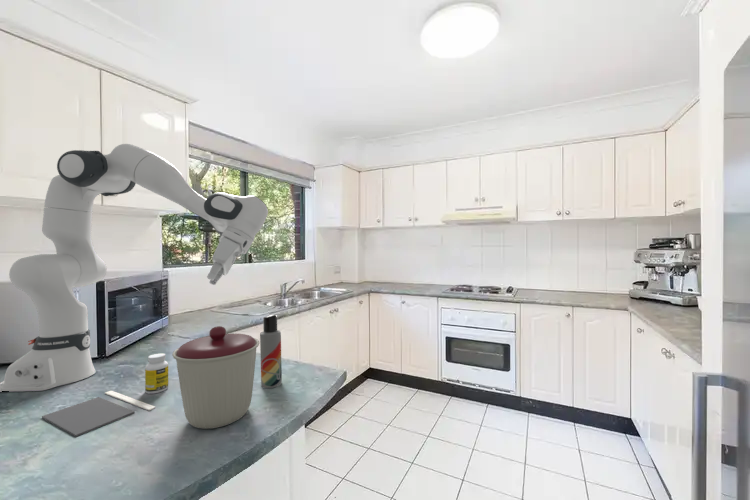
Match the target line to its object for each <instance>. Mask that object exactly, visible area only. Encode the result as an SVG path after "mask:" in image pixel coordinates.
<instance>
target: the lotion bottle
mask: <svg viewBox="0 0 750 500" xmlns="http://www.w3.org/2000/svg"><path fill="white" fill-rule="evenodd" d="M262 322H263V324H262V327H263V331H261V332H260V334H259V350H260V353H259V355H260V384H261V387H262V388H263V389H273V388H277V387H279V386H281V384H283V383H282V382H283V381H282V379H283V377H282V376H283V375H282V373H283V372H282V371H283V370H282V332H281V330H279V329H278V316H277V315H276V314H271V315H267V316H264V317H263V318H262Z"/></svg>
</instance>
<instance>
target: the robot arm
mask: <svg viewBox="0 0 750 500" xmlns="http://www.w3.org/2000/svg"><path fill="white" fill-rule="evenodd" d="M56 169H57V173H58V174H59V175H55V176H54V177H52V178H51V179H50V180H51V181H50V182H49V185H48V188H47V189H46V190H47V191H46V195H45V200H44V206H43V207H44V208H43V217H42V226H41V227H42V228H41V231H42V234H43V236H45V237H46V238H48V239H49V240H50V241H51V242H52V243H53V244H54V247H55V250H56V251H55V252H56V253H52V254H51V253H46V254H45V253H43V254H42V253H41V254H40V253H39V254H34V255H29V256H26V257H22V258H19V259H17V260H16V261H15V262H13V263H12V265H11V267H10V269H9V274H8V275H9V279H10V283H11V284H12V285H13V286H14V287H15V288H16V289H19V290H20V291H22V292H24V293H25V294H26V295H28V296H29V298H30V299H31V301H32V302H33V304H34V306H35V309H36V312H37V320H38V336H36V337H35V338H34V339H31V340H28V341H27V345H28V346H29V345H33V346H32V348H31V350H29V351H28V352H27V353H25V354H24V355H22V356H21V357H19V358H18V359H17V360H15V361H14V362H12V363H11V364H10V365H9V366H8V367H7V368H6V371H5V374H4V380H3V381H1V382H0V393H3V392H2V391H9V393H10V392H32V391H33V392H35V391H36V392H37V391H46V390H49V389H53V388H56V387H59V386H64V385H68V384H72V383H75V382H78V381H82V380H83V379H87V378H90V377H91V376H93V375H94V374H95V373H97V371H96V369H95V366H94V364H93V361H92V356H91V350H90V346H91V330H90V329H89V316H88V314H89V312H88V306H87V305H86V303H84V302H82V301H80V300H79V299H77V297H76V296H75V293H74V291H73V289H74V288H81V287H86V286H91V285H93V284H95V283H98V282H100V281H101V280H103V279H104V278H105V276H106V275H107V268H108V267H107V264H106V261H104V259H102V258H101V257H100V256H99V255H98V253H97V252H96V248H95V247H94V244H93V239H92V225H93V224H92V221H93V213H94V201H95V199H96V197H98V196H100V195H101V196H103V197H109V196H115V195H124V194H126V193H129V192H131V191H132V190H133V189H134V187H136V185H139V186H140V187H142V188H144V189H146V190H148V191H150V192H152V193H154V194H156V195H159V196H161V197H163V198H165V199H167V200H169V201H171V202H173V203H175V204H178V205H179V206H181V207H183V208H184V209H186V210H187V211H189V212H191V213H193V214H195V215H197V216H198V217H199V218H202V219H203V220H205V221H207V222H208V223H209V224H210V225H211V226H212V227H213V229H214V230H215V231H216V232H217V234H219V235H220V237H219V238H218V241H219V243H218V244H217V247H216V248H215V251H214V253H213V255H212V259H211V260H212V263H213V265H211V268H210V271H209V273H208V274H207V276H206V278H207V279H208V280H209V284H210V285H212V286H216V284H217V283H218V281H219V280H220V279H221V278H222V276H227V275H228V274H229V272H230V271H231V268H232V267H233V265H234V263H235V261H236V259H237V258H239V257H240V256H241V255H246V254H247V252H248V251H249V249H250V248H251V246H252V244H253V242H254V241H255V237H256V235H257V234H258V233H259V232H260V231H261V229H262V227H263V225H264V224H265V222H266V219H267V218H268V214H269V209H268V206H267V205H266V203H265V202H264V200H261V198H259V197H257V196H255V195H250V194H249V195H246V196H241V195H234V194H229V193H227V192H222V191H220V192H219V191H218V192H214V193H212V194H210V195H209V196H207V197H206V198H205V197H204V196H203V195H201V194H200V193H198V192H197V191H195V190H194V189H193V188H192V186H190V184H189V183H188V181H187V180H186V179H185V177H184V176H183V174H182V173H181V172H180V170H178V169H177V168H176V167H175V165H173V164H172V163H170V162H169V161H168V160H166V159H165V158H163V157H161V156H160V155H158V154H156V153H154V152H152V151H149V150H148V149H146V148H145V149H144V148H143V147H140V146H137V145H133V144H130V143H121V144H118V145H117V146H115V147H114V148H113V149H112V150H111V151H110V153H108V154H103V153H102V152H101V151H99V150H82V149H81V150H80V149H79V150H76V149H75V150H73V149H72V150H69V151H66V152H64V153H62V154H61V156H60V157H59V158H58V159H57V163H56ZM28 342H29V343H28Z"/></svg>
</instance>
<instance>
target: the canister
mask: <svg viewBox="0 0 750 500" xmlns="http://www.w3.org/2000/svg"><path fill="white" fill-rule="evenodd" d="M258 347H260V340H259V339H257V338H255V337H253V336H251V335H248V334H245V333H227V329H226V328H225V326H223V325H219V326H214V327H211V329H210V330H209V335H207V336H202V337H199V338H195V339H192V340H189V341H187V342H185V343H184V344H181V345H180V347H178V348H176V349H174V351H173V352H172V355H171V356H172V358H173V359H174V360H175V361H176V367H177V373H178V374H177V375H178V382H179V388H180V394H181V395H180V396H181V400H182V406H183V410H184V411H183V412H184V416H185V418H186V420H187V422H188V424H190V425H191V426H192V427H194V428H197V429H202V430H204V429H207V430H209V429H216V428H221V427H224V426H228V425H230V424H232V423H235V422H236V421H238V420H240V419H241V418H242V417H244V416H245V415H246V414H247V412H248V411H249V408H250V406H251V403H252V398H253V397H252V396H253V389H254V381H255V369H256V358H257V348H258Z"/></svg>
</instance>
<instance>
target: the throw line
mask: <svg viewBox="0 0 750 500" xmlns="http://www.w3.org/2000/svg"><path fill="white" fill-rule="evenodd" d="M104 394H105V395H108V396H109V397H112V398H115V399H117V400H121V401H122V402H123V401H124V402H126V403H128V404H130V405H134V406H135V407H139V408H141V409H144V410H147V411H148V412H149V411H151V410H155V409H156V406H155V405H151V404H149V403H147V402H143V401H141V400H139V399H135V398H133V397H130V396H129V395H128V396H127V395H124V394H122V393H120V392H117V391H114V390H109V391H106V392H104Z"/></svg>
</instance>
